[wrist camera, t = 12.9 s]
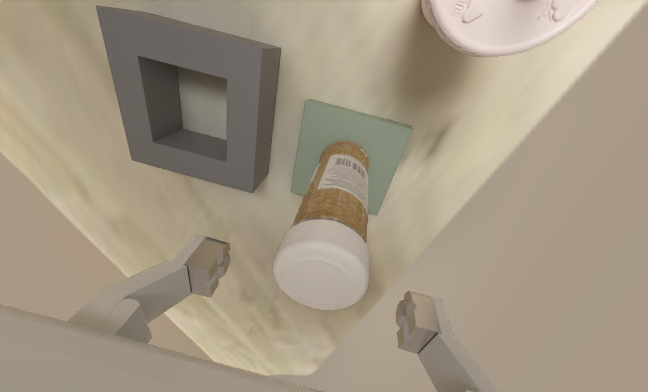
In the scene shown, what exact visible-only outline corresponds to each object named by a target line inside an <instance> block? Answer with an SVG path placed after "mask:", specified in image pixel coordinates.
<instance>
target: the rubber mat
mask: <svg viewBox="0 0 648 392" xmlns="http://www.w3.org/2000/svg"><path fill="white" fill-rule="evenodd" d="M412 130H413V129H412V127H411V126H410V125H406V124H402V123H398V122H394V121H391V120H387V119H383V118H379V117H375V116H372V115H368V114H364V113H360V112H356V111H353V110H349V109H345V108H341V107H337V106H334V105H330V104H326V103H322V102H318V101H315V100H311V99H307V100H306V102H305V108H304V114H303V120H302V126H301V132H300V138H299V144H298V150H297V156H296V162H295V168H294V174H293V180H292V186H291V192H293V193H297V194H300V195H304V196H305V195H306V192H307V188H308V185H309V183H310V180H311V178H312V175H313V173H314V171H315V169H316V167H317V165H318V164H319V159H320V156H321V154H322V152H323V150H324V149H325V148H326V147H327V146H328V145H329V144H331V143H333V142H336V141H341V140H347V141H351V142H354V143H357V144H358V145H359V146H361V147H362V148H363V149H364V150H365V151H366V153H367V155H368V158H369V171H368V179H369V190H368V213H370V214H374V215H377V214H378V211H379V209H380V206H381V204H382V202H383V199H384V197H385V194H386V192H387V190H388V187H389V185H390V183H391V180H392V178H393V175H394V173H395V171H396V168H397V166H398V164H399V161H400V159H401V156H402V154H403V152H404V149H405V147H406V144H407V142H408V140H409V137H410V135H411V133H412Z"/></svg>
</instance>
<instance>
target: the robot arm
mask: <svg viewBox="0 0 648 392" xmlns="http://www.w3.org/2000/svg"><path fill="white" fill-rule="evenodd" d="M229 250H230V244H229V243H226V242H223V241H219V240H216V239H213V238H209V237H206V236H202V235H198V234H196V235H194V236H193V237H192V238H191V239H190V240H189V241H188V242H187V243H186V244H185V246H184V247H183V248H182V249H181V250H180V251H179V252H178V254H177V255H176V256H175V257H174V258H173V259H172V260H171V261H168V260H167V261H165V262H163V263H160V264H158V265H156V266H154V267H151V268H149V269H147V270H145V271H142V272H140V273H138V274H136V275H133V276H131V277H129V278H126V279H125V280H122V281H120V282H117V283H115V284H113V285H111V286H109V287H106V288H104V289H102V290H100V292H98V293H97V294H96V295H95V296H94V297H93V298H92V299H91V300H90V301H89V302H88V303H87V304H86V305H85V306H84V307H83V308H81V310H79V311H78V312H77V313H76V314H75V315H74V316H73V317H72V318H71V319H70V320H69V321H68V322H66V321H63V320H59V319H55V318H51V317H47V316H44V315H41V314H37V313H33V312H29V311H26V310H22V309H18V308H14V307H11V306H7V305H4V304H0V392H323V391H319V390H316V389H312V388H308V387H305V386H301V385H297V384H294V383H290V382H286V381H283V380H279V379H275V378H271V377H268V376H264V375H261V374H257V373H253V372H250V371H246V370H242V369H239V368H235V367H231V366H228V365H224V364H220V363H217V362H213V361H209V360H206V359H202V358H198V357H195V356H191V355H187V354H184V353H180V352H176V351H172V350H169V349H165V348H161V347H158V346H154V345H150V344H148V342H149V341H150V339H151V338H152V335H151V332H150V329H149V327H148V324H147V323H149V322H150V321H152V320H153V319H155V318H156V317H158V316H159V315H161V314H162V313H164V312H165V311H167V310H168V309H170V308H171V307H173V306H174V305H176V304H177V303H179V302H180V301H182V300H183V299H185V298H186V297H188V296H189V295H191V293H194V294H198V295H202V296H207V297H211V296H212V294H213V293H214V291H215V290H216V288H217V286H218V285H219V281H218V279H219V278H221V277H223V276H224V275H225V273H226V271H227V269H228V266H229V263H230V255H229V253H228V252H229ZM404 299H405V300H402V301H400V302H399V304H398V306H397V310H396V323H397V324H398V326H399V327H400V329H399V331H398V332H397V336H398V347H399V349H403V350H406V351H410V352H413V353H416V354H418V357H419V358H420V360H421V362H422V364H423V366H424V368H425V369H426V371H427V373H428V375H429V377H430V379H431V380H432V382H433V384H434V386H435V388H436V390H437V391H438V392H500V391H499V389H498V388H497V387H496V386H495V384H494V383H493V382H492V381H491V379H490V378H489V377H488V376H487V374H486V373H485V372H484V371H483V369H482V368H481V367H480V366H479V364H478V363H477V362H476V361H475V359H474V358H473V357H472V356H471V355H470V353H469V352H468V351H467V349H466V348H465V347H464V346H463V344H462V343H461V342H460V341H459V339H458V338H454V334H453V331H452V327H451V325H450V321H449V317H448V314H447V310H446V307H445V303H444V302H443V300H441V299H437V298H433V297H430V296H426V295H422V294H419V293H415V292H410V291H408V292H406V293H405V295H404Z"/></svg>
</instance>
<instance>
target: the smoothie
mask: <svg viewBox="0 0 648 392" xmlns="http://www.w3.org/2000/svg"><path fill="white" fill-rule="evenodd" d="M599 1H600V0H421V7H422V12H423V15H424V17H425V19H426V20H427V22H428V23H429V24H430V25H432V26H433V27H434V28H435V30H436V31H437V33H438V34H439V36H440V37H441V39H442V40H443V41H445V42H446V43H447V44H449V45H450V46H451V47H453V48H454V49H455V50H457V51H459V52H462V53H465V54H468V55H471V56H475V57H499V56H509V55H515V54H519V53H522V52H526V51H529V50H531V49H534V48H536V47H539V46H541V45H543V44H545V43H547V42H549V41H551V40H553V39H554V38H556V37H557V36H559V35H561V34H562V33H564V32H565V31H566V30H568V29H569V28H571V27H572V26H573V25H575V24H576V23H577V22H578V21H579V20H581V19H582V18H583V17H584V16H585V15H586V14H587V13H588V12H589V11H590V10H592V9H593V7H594V6H595V5H596V4H597V3H598V2H599Z"/></svg>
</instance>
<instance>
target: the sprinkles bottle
mask: <svg viewBox="0 0 648 392" xmlns="http://www.w3.org/2000/svg"><path fill="white" fill-rule="evenodd" d="M368 171H369V158H368V155H367V153H366V151H365V150H364V149H363V148H362V147H361V146H359V145H358V144H357V143H354V142H351V141H347V140H341V141H336V142H333V143H331V144H329V145H328V146H327V147H326V148H325V149H324V150H323V152H322V154H321V156H320V159H319V164H318V165H317V167H316V169H315V171H314V173H313V175H312V178H311V180H310V183H309V185H308V188H307V192H306V195H305V197H304V199H303V201H302V204H301V206H300V208H299V211H298V214H297V216H296V218H295V221H294V224H293V226H292V227H291V228H290V229H289V230H288V231H287V233H286V234H285V235H284V237H283V239H282V242H281V244H280V246H279V249H278V251H277V254H276V257H275V259H274V262H273V275H274V279H275V281H276V283H277V285H278V286H279V288H280V289H281V290H282V291H283V292H284V293H285V294H286V295H287V296H289V297H290V298H291V299H293V300H294V301H296V302H298V303H300V304H302V305H305V306H308V307H311V308H315V309H320V310H337V309H342V308H346V307H349V306H351V305H353V304H355V303H356V302H358V301H359V300H360V299H361V298H362V297H363V296H364V294H365V293H366V291H367V288H368V284H369V251H368V248H367V245H366V236H367V223H368V190H369V179H368Z"/></svg>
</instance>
